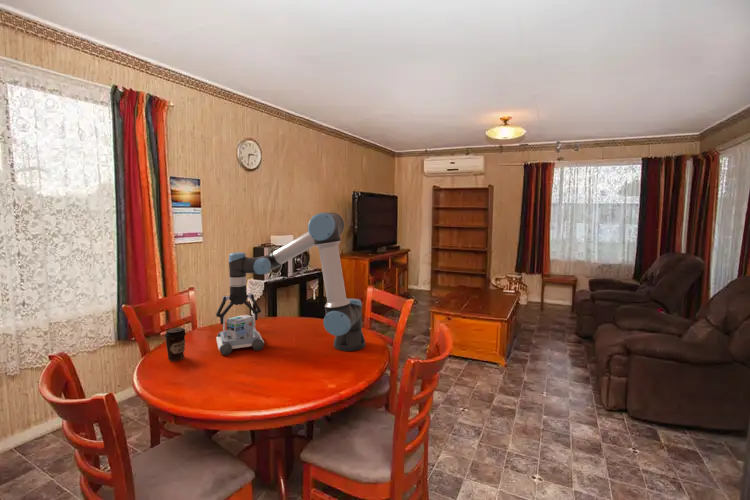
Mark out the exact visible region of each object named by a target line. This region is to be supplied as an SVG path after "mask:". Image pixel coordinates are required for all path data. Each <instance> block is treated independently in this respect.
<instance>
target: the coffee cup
mask: <svg viewBox="0 0 750 500" xmlns="http://www.w3.org/2000/svg"><path fill="white" fill-rule="evenodd" d="M185 336H186V329H185V328H183V327H174V328H171V329H168V330H166V333H164V338H165V344H166V353H167V357H168V358H167V359H168V361H169V360H170V361H169V362H177V361H180V360H183V359H185V350H186V349H185V348H186V347H185V346H186V339H185Z"/></svg>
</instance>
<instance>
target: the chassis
mask: <svg viewBox="0 0 750 500" xmlns="http://www.w3.org/2000/svg"><path fill="white" fill-rule="evenodd" d="M215 340H216V344H217V349H218V350H217V351H219V352H220V354H221V355H223V356H228V355H230V354H231V353H232V350H234V349H240V348H249V347H252V349H253V350H254V351H258V352H259V351H261V350H262V349H264V346H265V341H264V339H263V337H262V336H261V334H260V332H259V331H257V329H256V327H255V328H254V327H253V337H251V338H243V339H235V340H227V330H225V331H222V330H221V331H219V332H218V333H217V335H216V337H215Z"/></svg>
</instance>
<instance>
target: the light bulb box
mask: <svg viewBox="0 0 750 500" xmlns="http://www.w3.org/2000/svg"><path fill="white" fill-rule="evenodd" d="M253 328H254V327H253V315H252V316H251V315H248V314H241V315H237V316H233V317H229V318H226V331H227V340H235V339H243V338H251V337H253Z"/></svg>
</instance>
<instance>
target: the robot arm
mask: <svg viewBox="0 0 750 500" xmlns="http://www.w3.org/2000/svg"><path fill="white" fill-rule="evenodd" d="M344 230H345V221H344V218H343V217H342V215H340V214H338V213H336V212H325V211H324V212H319V213H317V214H315V215H313V216H312V217H311V218H310V219H309V221H308V224H307V231H306V232H305V233H303V234H301V235H299V236H298V237H296V238H294V239H293V240H291V241H289V242H287V243H286V244H284V245H282V246H281V247H279V248H277V249H276V250H274V251H272V252H270V253H268V254H267V255H263V256H258V257H247V255H246V252H239V251H238V252H231V253H229V254H228V271H229V285H230V286H229V296H226V295H223V296H222V301H221V303H220V305H219V308H218V309H217V311H216V313H215V316H216V318H220V319H219V321H220V322H219V323H220V325H222V330H223V331H226V317H225V315H226V314H227V313H228V312H229V310H230V309H231V308H232V307H233V306H234V305H235V306H238V305H243V304H244V305H246V307H248V308H249V309H250V310H251V312H253V313H252V316H253V328H255V329H256V321H258V314H259V313H262V310H261V308H260V306H259V304H258V302H257V301H256V300H255V296H254V293H250V294H247V291H248V290H247V274H253V275H254V274H255V275H267V274H269V272H270V271H272V270H276V269H278V268H279V267H280V266H282V265H283V264H285V263H287V262H288V261H291V260H292V259H294V258H295V257H297V256H299V255H301V254H303V253H305V252H306V251H308V250H310V249H312V248H314V247H316V248H318V252H319V258H320V265H321V270H322V272H321V273H322V277H323V281H324V282H323V283H324V289H325V290H324V291H325V294H326V295H325V297H326V303H325V305H324V311H325V315H324V318H323V327H324V329H325V331H326V332H327V333H329V334H330V335H331V336H334V339H333V348H335V350H338V351H341V352H342V351H343V352H355V351H359V350H362V349H364V348H365V347H366V340H365V336H364V334H363V329H362V321H363V320H362V317H363V316H362V315H363V313H362V311H363V310H362V307H363V305H362V300H361V299H359V298H349V297H348V298H347V294H346V288H345V281H344V275H343V269H342V263H341V256H340V249H339V244H340V243H341V239H342V238H341V235H342V233H343V232H344ZM248 298H249V299H250V300H251V301H252V302H253V303H252V304H253V305H254V306H255V308H256V309H255V308H254V307H253V306H252V305H251V304H250V303H249V302H248V301H247V299H248ZM229 300H230V302H229V303H228V304H227V306H226V307H225V305H226V302H227V301H229ZM224 307H225V308H224ZM223 309H224V310H223Z"/></svg>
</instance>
